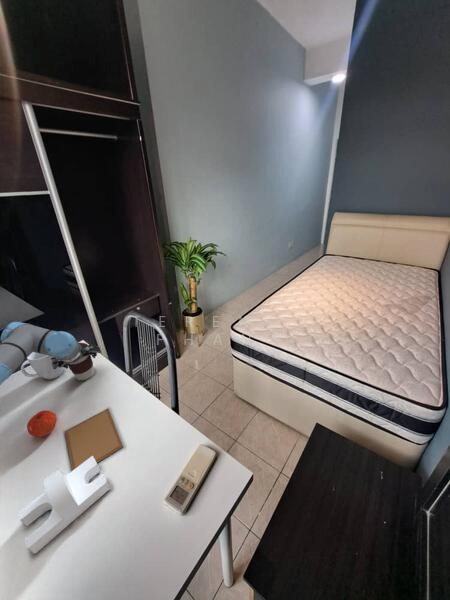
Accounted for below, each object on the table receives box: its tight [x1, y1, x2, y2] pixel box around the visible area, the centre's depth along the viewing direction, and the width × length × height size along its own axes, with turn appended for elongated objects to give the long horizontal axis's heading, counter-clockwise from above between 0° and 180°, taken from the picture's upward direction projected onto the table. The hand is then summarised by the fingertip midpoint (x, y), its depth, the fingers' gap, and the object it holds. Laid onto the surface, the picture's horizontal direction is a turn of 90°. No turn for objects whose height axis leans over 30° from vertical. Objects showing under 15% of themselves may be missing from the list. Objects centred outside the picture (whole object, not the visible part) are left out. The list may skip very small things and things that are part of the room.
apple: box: [26, 410, 58, 438], centre depth 82 cm, size 8×8×8 cm
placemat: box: [64, 408, 124, 471], centre depth 80 cm, size 18×14×1 cm
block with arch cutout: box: [18, 456, 111, 555], centre depth 62 cm, size 18×10×11 cm, turn 136°
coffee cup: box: [67, 341, 95, 381], centre depth 103 cm, size 10×10×15 cm
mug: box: [20, 352, 65, 380], centre depth 104 cm, size 15×11×13 cm
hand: (80, 360), depth 106 cm, fingers closed on coffee cup, 10 cm apart
